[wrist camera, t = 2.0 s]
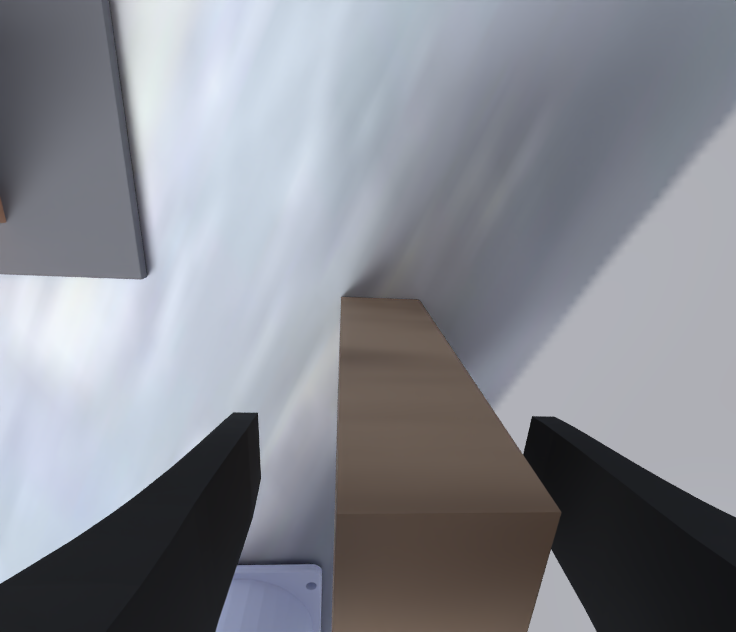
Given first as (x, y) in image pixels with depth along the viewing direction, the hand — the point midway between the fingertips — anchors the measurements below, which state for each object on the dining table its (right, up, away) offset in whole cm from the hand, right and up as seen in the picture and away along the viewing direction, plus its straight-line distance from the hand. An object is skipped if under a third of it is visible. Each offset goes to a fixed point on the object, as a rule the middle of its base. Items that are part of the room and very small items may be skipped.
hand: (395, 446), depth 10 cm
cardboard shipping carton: (0, +2, +5) cm, 6 cm away
